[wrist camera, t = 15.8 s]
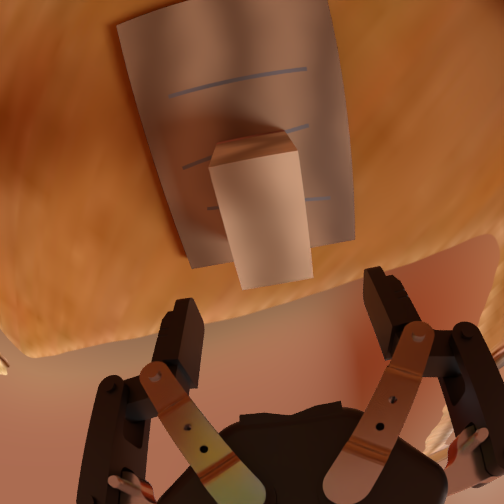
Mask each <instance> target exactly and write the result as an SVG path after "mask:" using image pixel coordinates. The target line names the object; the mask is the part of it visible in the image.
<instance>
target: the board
mask: <svg viewBox="0 0 504 504" xmlns="http://www.w3.org/2000/svg"><path fill="white" fill-rule="evenodd" d="M117 31H118V35H119V39H120V44H121V48H122V52H123V56H124V60H125V64H126V68H127V72H128V75H129V79H130V83H131V87H132V90H133V94H134V97H135V101H136V104H137V108H138V111H139V115H140V118H141V122H142V125H143V128H144V132H145V135H146V138H147V142H148V145H149V148H150V151H151V154H152V157H153V161H154V164H155V167H156V170H157V173H158V176H159V179H160V182H161V185H162V188H163V191H164V194H165V197H166V200H167V202H168V205H169V208H170V211H171V214H172V217H173V220H174V222H175V225H176V228H177V231H178V233H179V236H180V239H181V242H182V244H183V247H184V250H185V252H186V255H187V258H188V260H189V263H190V265H191V268H192V269H194V268H200V267H206V266H211V265H217V264H223V263H228V262H234V259H233V256H232V252H231V248H230V245H229V241H228V238H227V234H226V231H225V227H224V223H223V220H222V216H221V212H220V209H219V205H218V201H217V198H216V194H215V190H214V187H213V183H212V179H211V176H210V172H209V168H208V167H209V164H210V161H211V158H212V155H213V153H214V150H215V147H216V144H217V143H218V142H223V141H227V140H232V139H237V138H242V137H247V136H252V135H257V134H263V133H268V132H274V131H280V130H285V132H286V133H287V135H288V136H289V138H290V139H291V141H292V142H293V144H294V145H295V147H296V148H297V150H298V154H299V161H300V168H301V175H302V182H303V190H304V197H305V205H306V214H307V222H308V231H309V240H310V248H312V247H317V246H323V245H328V244H334V243H339V242H345V241H350V240H355V215H354V191H353V174H352V160H351V147H350V137H349V127H348V118H347V109H346V101H345V94H344V87H343V80H342V73H341V67H340V61H339V55H338V50H337V44H336V39H335V34H334V29H333V24H332V19H331V15H330V10H329V6H328V2H327V0H188V1H185V2H181V3H178V4H174V5H171V6H168V7H165V8H162V9H159V10H156V11H153V12H150V13H147V14H144V15H142V16H139V17H136V18H134V19H131V20H129V21H126V22H124V23H121V24H119V25H117Z"/></svg>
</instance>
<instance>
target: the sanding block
mask: <svg viewBox="0 0 504 504" xmlns="http://www.w3.org/2000/svg"><path fill="white" fill-rule="evenodd" d="M208 168H209V172H210V176H211V179H212V183H213V187H214V190H215V194H216V198H217V201H218V205H219V209H220V212H221V216H222V220H223V223H224V227H225V231H226V234H227V238H228V241H229V245H230V248H231V252H232V256H233V259H234V263H235V266H236V270H237V273H238V277H239V280H240V284H241V287H242V290H246V289H252V288H258V287H264V286H270V285H276V284H282V283H287V282H293V281H298V280H304V279H309V278H313V269H312V259H311V249H310V240H309V231H308V222H307V214H306V205H305V197H304V190H303V182H302V175H301V168H300V161H299V154H298V150H297V148H296V147H295V145H294V144H293V142H292V141H291V139H290V138H289V136H288V135H287V133H286V132H285V130H280V131H274V132H268V133H263V134H257V135H252V136H247V137H242V138H237V139H232V140H227V141H223V142H218V143H217V144H216V147H215V150H214V153H213V155H212V158H211V161H210V164H209V167H208Z"/></svg>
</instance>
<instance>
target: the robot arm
mask: <svg viewBox="0 0 504 504" xmlns="http://www.w3.org/2000/svg"><path fill="white" fill-rule="evenodd" d="M363 299H364V304H365V307H366V310H367V312H368V315H369V318H370V320H371V323H372V326H373V328H374V331H375V334H376V336H377V339H378V342H379V345H380V347H381V350H382V353H383V356H384V359H385V360H390V359H391V361H390V364H389V366H387V367H386V369H385V371H384V373H383V375H382V378H381V380H380V382H379V384H378V386H377V388H376V390H375V392H374V394H373V396H372V398H371V400H370V402H369V404H368V406H367V408H366V410H365V412H363V411H360V410H357V409H353V408H348V407H342V405H341V401H338V402H333V403H328V404H322V405H317V406H314V407H311V408H309V409H306V410H304V411H302V412H299V413H296V414H293V415H280V414H271V413H256V414H246V415H240V421H239V422H236V423H234V424H232V425H230V426H228V427H226V428H225V429H223V430H222V431H221V432H220V433H218V432H217V431H216V430H215V429H214V427H213V426H212V425H211V424H210V423H209V421H208V420H207V419H206V418H205V416H204V415H203V414H202V412H201V411H200V410H199V409H198V408H197V406H196V405H195V403H194V402H193V401H192V399H191V398H190V397H189V389H192V388H198V379H199V371H200V362H201V354H202V346H203V338H204V323H203V319H202V317H201V315H200V313H199V310H198V308H197V306H196V304H195V301H194V299H193V298H185V299H178V300H176V302H175V306H174V310H173V311H169V312H167V314H166V315H165V317H164V318H163V319H162V322H161V326H160V330H159V334H158V338H157V342H156V345H155V349H154V353H153V357H152V362H151V363H149V364H147V365H146V366H145V367H144V368H143V369H142V371H141V373H140V375H139V376H136V377H133V378H130V379H127V380H124V381H123V380H122V378H121V377H119V376H117V375H111V376H108V377H106V378H105V379H103V381H101V383H100V384H99V387H98V391H97V394H96V398H95V403H94V406H93V411H92V415H91V420H90V424H89V429H88V433H87V439H86V443H85V448H84V454H83V459H82V466H81V472H80V478H79V485H78V491H77V500H76V503H77V504H444V502H445V499H446V497H447V496H450V495H453V494H455V493H458V492H460V491H463V490H465V489H467V488H470V487H473V488H479V487H481V486H484V485H486V484H487V483H490V482H491V481H493V480H495V479H497V478H499V477H501V476H502V475H504V382H503V380H502V378H501V375H500V373H499V370H498V368H497V366H496V364H495V361H494V359H493V357H492V355H491V353H490V351H489V348H488V346H487V344H486V342H485V340H484V338H483V336H482V334H481V332H480V330H479V329H478V328H477V326H475V325H474V324H472V323H470V322H460V323H458V324H456V325H455V326H454V328H453V330H444V331H443V330H434V329H432V327H431V326H430V325H429V324H427V323H425V322H422V321H421V319H420V317H419V315H418V313H417V311H416V309H415V307H414V305H413V304H412V302H411V300H410V298H409V297H408V294H407V292H406V291H405V289H404V287H403V285H402V283H401V282H400V281H399V280H398V279H397V278H395V277H394V276H393V275H389V276H386V275H385V273H384V271H383V270H382V268H381V267H380V266H378V267H373V268H368V269H365V270H364V284H363ZM422 377H438V380H439V383H440V386H441V389H442V392H443V395H444V398H445V401H446V405H447V408H448V411H449V415H450V418H451V422H452V425H453V429H454V433H455V437H456V438H455V439H454V440H453V441H452V443H451V444H450V446H449V448H448V462H447V465H446V467H445V469H444V470H443V469H442V467H441V466H440V465H439V464H438V463H436V462H435V461H433V460H432V459H430V458H429V457H427V456H426V455H424V454H423V453H421V452H420V451H419V450H417V449H416V448H414V447H413V446H411V445H410V444H409V443H407V442H406V441H404V440H403V439H402V438H400V437H399V434H400V432H401V430H402V428H403V425H404V423H405V421H406V418H407V416H408V414H409V411H410V409H411V406H412V404H413V401H414V399H415V396H416V394H417V391H418V388H419V385H420V383H421V380H422ZM157 416H158V417H159V419H160V421H161V422H162V424H163V425H164V427H165V429H166V430H167V432H168V433H169V435H170V436H171V438H172V439H173V441H174V442H175V444H176V445H177V447H178V448H179V450H180V451H181V453H182V454H183V456H184V457H185V458H186V460H187V461H188V463H189V464H190V466H189V467H188V469H186V471H185V472H184V473H183V474H182V475H181V476H180V477H179V478H178V479H177V480H176V481H175V483H173V485H172V486H171V487H170V488H169V489H168V490H167V491H166V492H165V493H164V494H163V495H162V496H161V497H160V498H159V500H158V501H156V500H155V498H154V492H153V488H152V486H151V484H150V483H149V482H147V481H146V480H145V473H146V462H147V451H148V441H149V431H150V422H151V418H153V417H157Z"/></svg>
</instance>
